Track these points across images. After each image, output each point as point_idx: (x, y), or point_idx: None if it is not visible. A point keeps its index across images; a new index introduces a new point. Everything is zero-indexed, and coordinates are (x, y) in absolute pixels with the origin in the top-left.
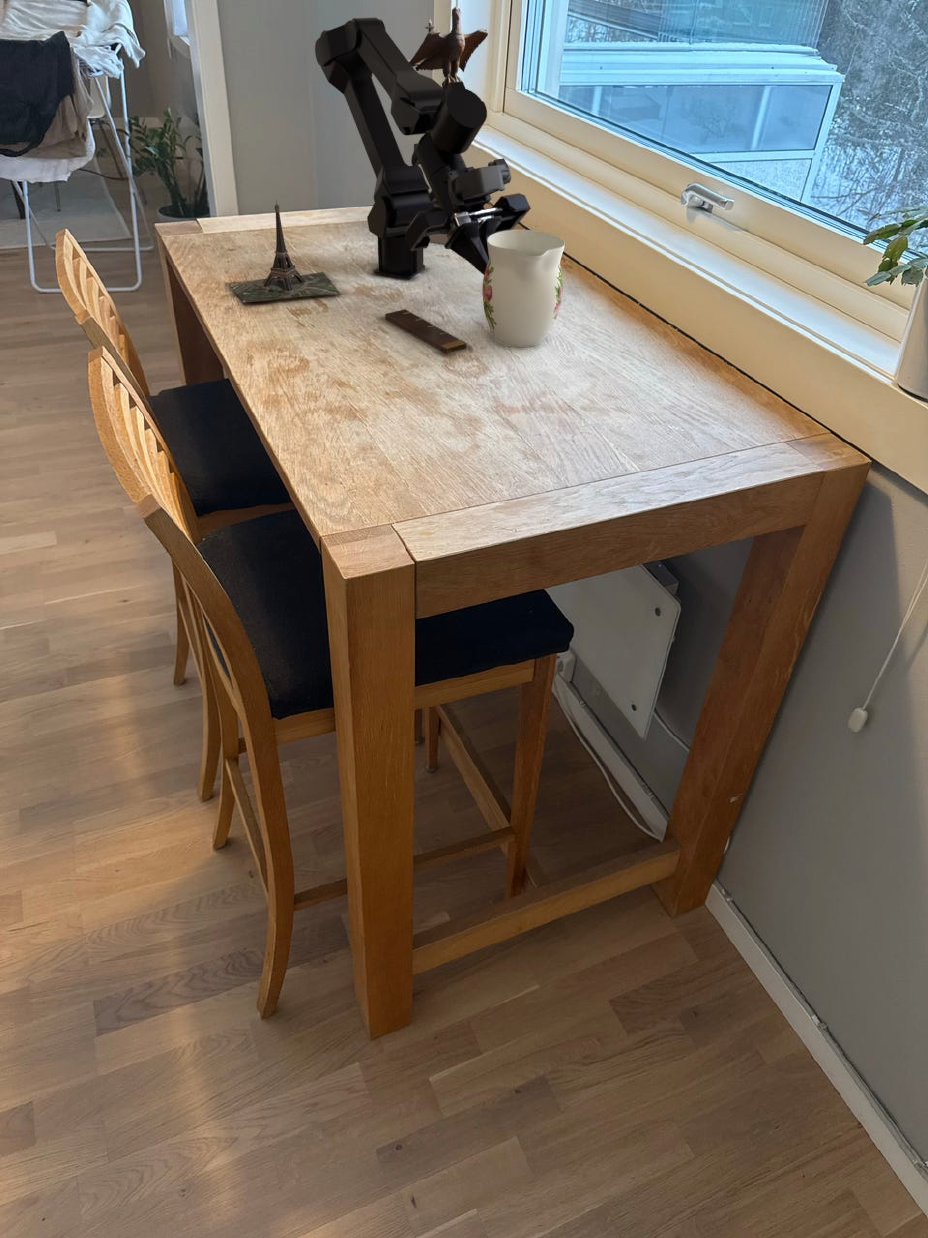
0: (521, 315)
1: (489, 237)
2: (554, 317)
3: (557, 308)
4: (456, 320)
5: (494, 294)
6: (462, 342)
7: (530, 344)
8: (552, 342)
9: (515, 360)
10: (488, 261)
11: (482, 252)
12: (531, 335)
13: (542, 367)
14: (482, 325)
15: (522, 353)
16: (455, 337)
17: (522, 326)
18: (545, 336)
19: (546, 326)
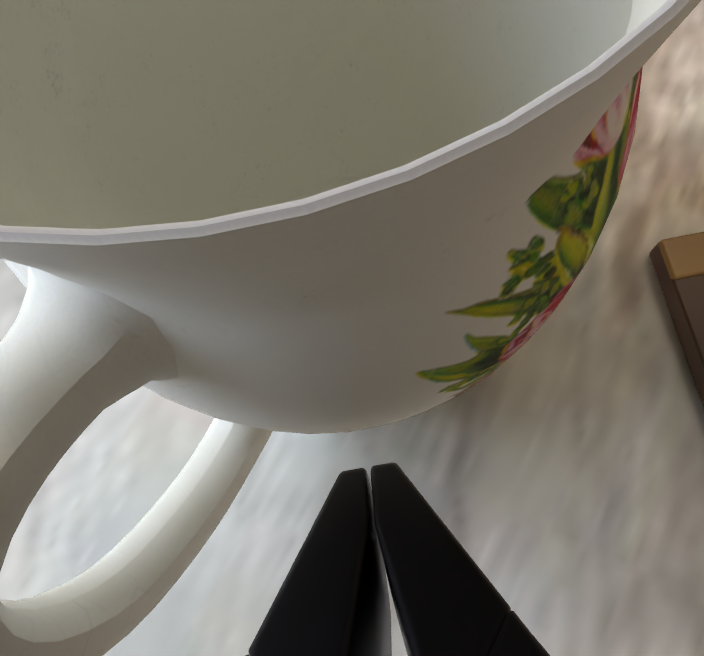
0: (441, 5)
1: (664, 6)
2: (229, 69)
3: (204, 28)
4: (558, 619)
5: (594, 33)
6: (680, 245)
7: (356, 167)
8: None
9: None
10: (396, 534)
11: (458, 609)
12: (370, 103)
13: None
14: (446, 485)
15: None
16: (692, 320)
17: (426, 58)
18: (272, 168)
19: (290, 77)
